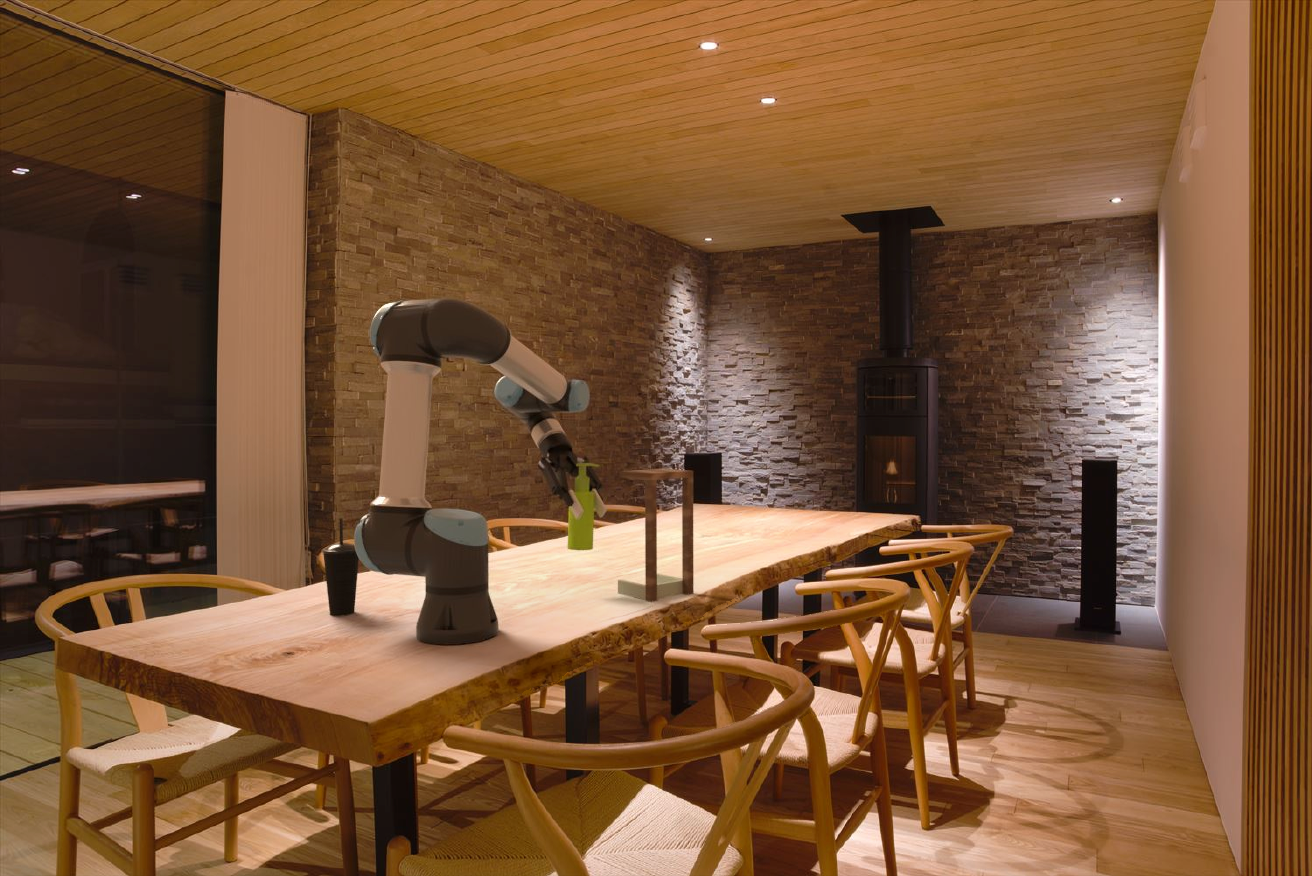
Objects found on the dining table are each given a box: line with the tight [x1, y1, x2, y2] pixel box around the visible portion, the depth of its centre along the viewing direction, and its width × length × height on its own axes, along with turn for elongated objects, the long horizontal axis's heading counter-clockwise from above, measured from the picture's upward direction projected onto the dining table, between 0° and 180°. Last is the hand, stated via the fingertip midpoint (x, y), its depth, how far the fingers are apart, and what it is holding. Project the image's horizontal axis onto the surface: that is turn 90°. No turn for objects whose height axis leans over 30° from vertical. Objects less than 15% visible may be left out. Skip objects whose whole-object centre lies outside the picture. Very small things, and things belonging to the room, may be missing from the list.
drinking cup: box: [321, 517, 360, 617], centre depth 177 cm, size 8×8×20 cm
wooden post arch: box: [619, 468, 694, 603], centre depth 195 cm, size 13×11×28 cm
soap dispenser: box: [567, 462, 601, 551], centre depth 197 cm, size 6×7×20 cm
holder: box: [617, 573, 683, 601], centre depth 197 cm, size 12×10×3 cm
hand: (591, 514), depth 194 cm, fingers closed on soap dispenser, 6 cm apart
